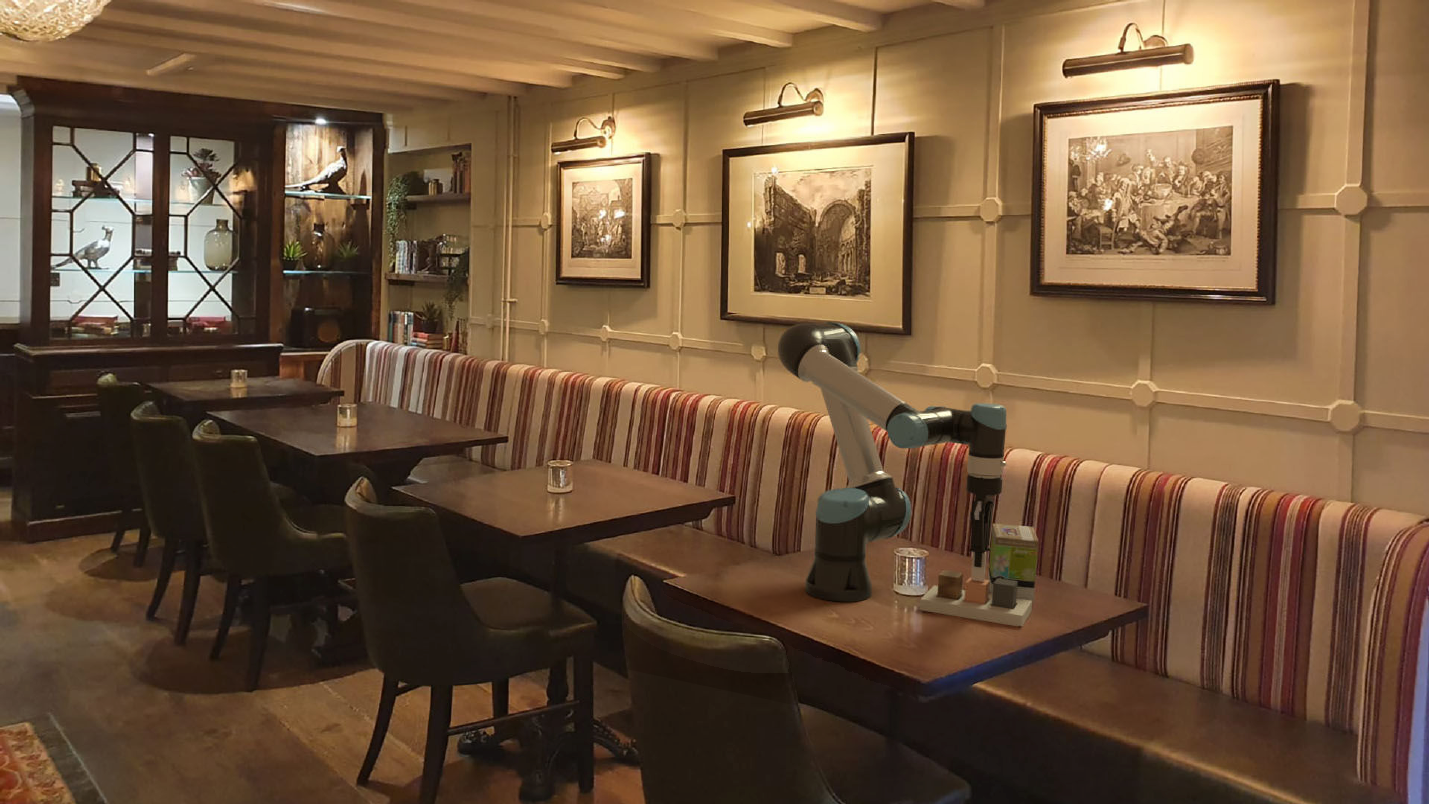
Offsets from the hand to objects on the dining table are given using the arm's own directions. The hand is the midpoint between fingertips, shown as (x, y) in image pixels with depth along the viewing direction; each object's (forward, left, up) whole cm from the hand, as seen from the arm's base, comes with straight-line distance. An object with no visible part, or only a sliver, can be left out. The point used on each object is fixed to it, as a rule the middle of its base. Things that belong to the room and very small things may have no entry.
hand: (978, 580), depth 244 cm
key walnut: (-6, 0, -5) cm, 8 cm away
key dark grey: (+6, 0, -5) cm, 8 cm away
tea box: (+4, +19, -7) cm, 21 cm away
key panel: (0, 0, -7) cm, 7 cm away
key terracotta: (0, 0, -5) cm, 5 cm away
